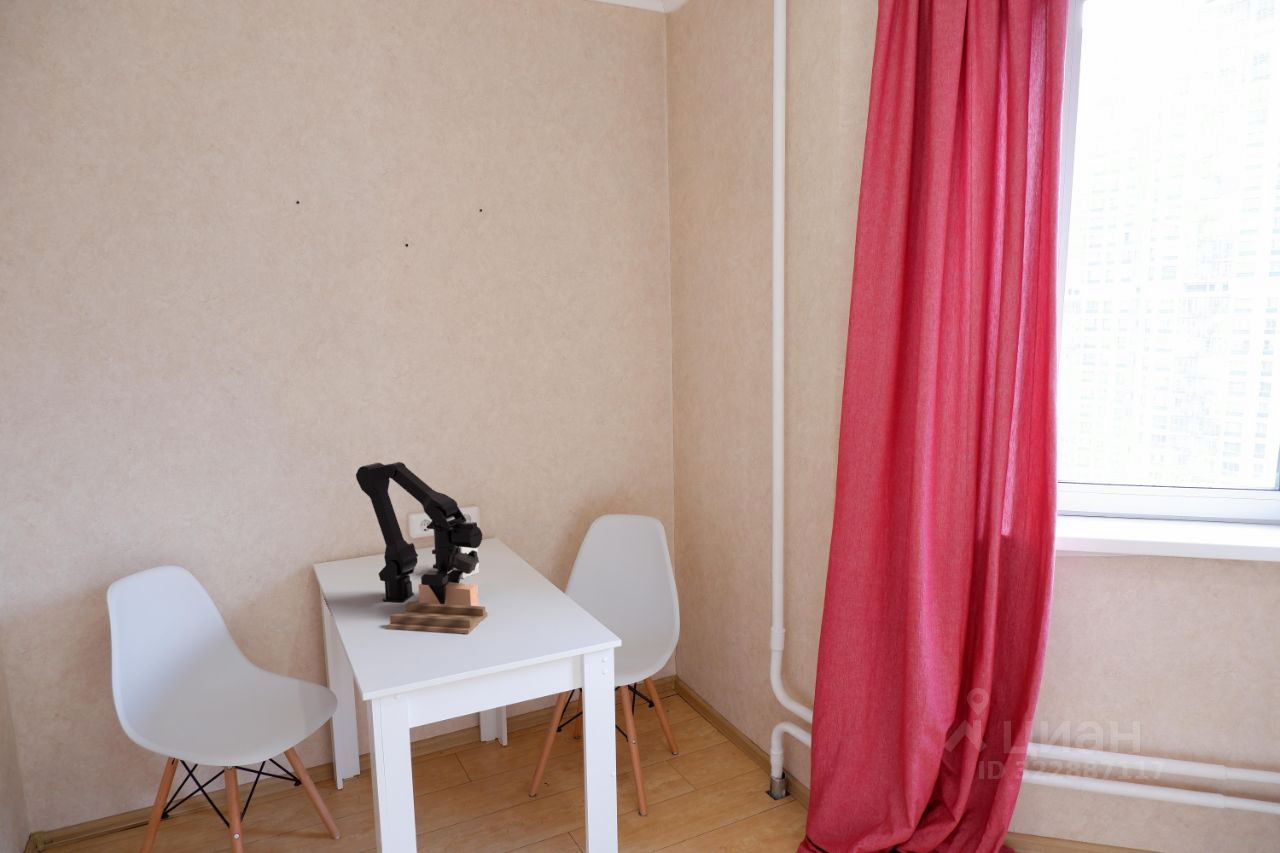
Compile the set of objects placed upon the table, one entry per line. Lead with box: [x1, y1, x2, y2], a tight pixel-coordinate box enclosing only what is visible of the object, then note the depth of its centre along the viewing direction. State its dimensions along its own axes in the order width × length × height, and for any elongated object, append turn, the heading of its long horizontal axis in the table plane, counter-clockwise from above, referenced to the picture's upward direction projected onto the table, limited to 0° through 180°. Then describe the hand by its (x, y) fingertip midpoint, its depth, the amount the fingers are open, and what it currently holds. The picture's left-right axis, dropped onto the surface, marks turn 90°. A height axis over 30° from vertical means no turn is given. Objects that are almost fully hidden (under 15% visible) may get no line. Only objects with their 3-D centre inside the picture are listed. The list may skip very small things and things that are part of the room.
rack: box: [387, 601, 489, 635], centre depth 196 cm, size 22×12×3 cm, turn 78°
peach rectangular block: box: [418, 582, 479, 606], centre depth 208 cm, size 16×4×6 cm, turn 73°
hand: (448, 599), depth 208 cm, fingers open, 7 cm apart
